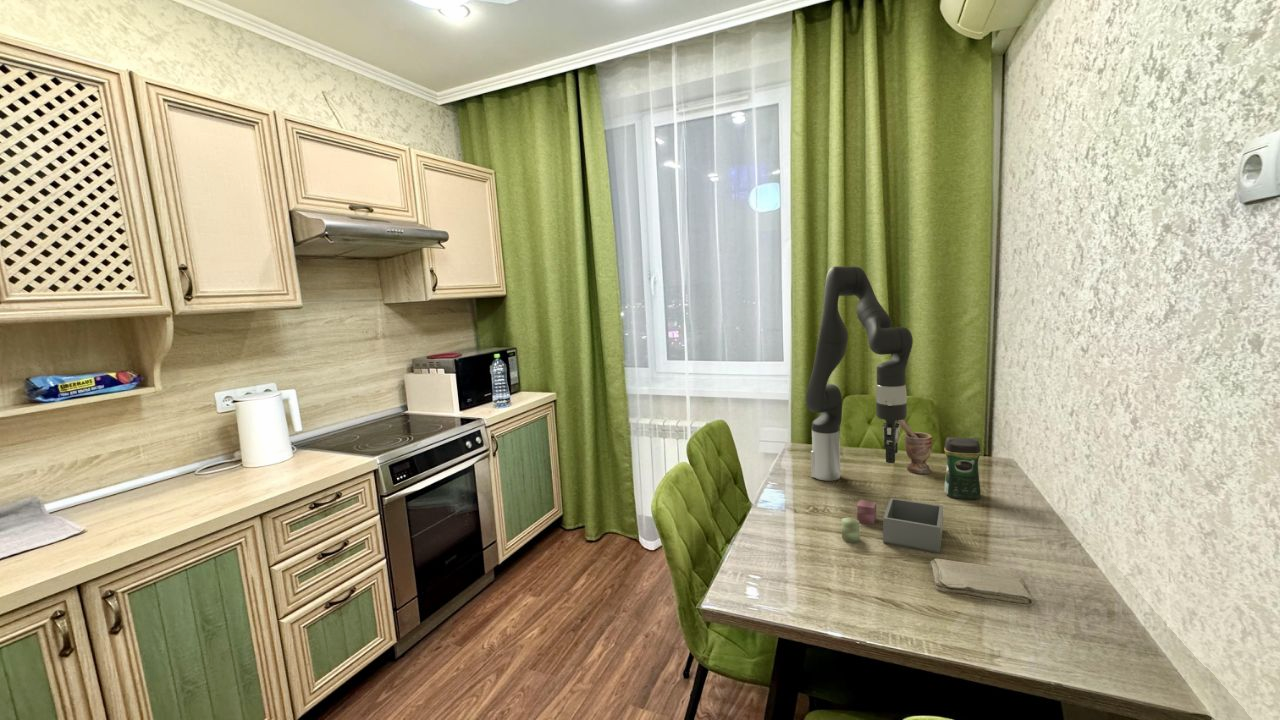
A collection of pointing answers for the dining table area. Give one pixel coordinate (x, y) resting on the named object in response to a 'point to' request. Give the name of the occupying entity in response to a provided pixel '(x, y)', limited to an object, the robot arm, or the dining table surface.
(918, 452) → the mortar and pestle
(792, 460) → the dining table surface
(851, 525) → the green cylinder
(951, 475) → the coffee jar
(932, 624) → the dining table surface
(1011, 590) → the washcloth
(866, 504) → the pink cube
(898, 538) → the bin
